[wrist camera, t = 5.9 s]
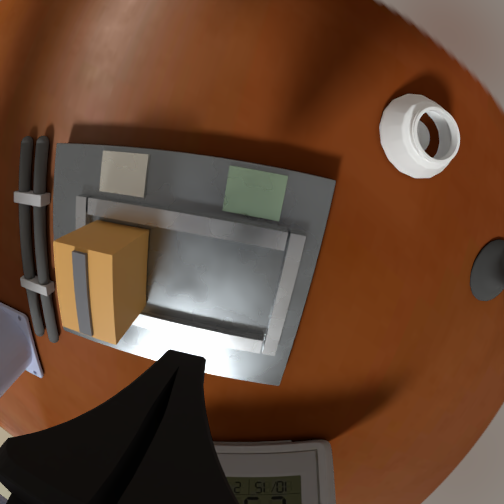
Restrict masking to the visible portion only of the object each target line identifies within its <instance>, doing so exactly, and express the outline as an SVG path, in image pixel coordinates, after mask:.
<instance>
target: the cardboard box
mask: <svg viewBox="0 0 504 504" xmlns="http://www.w3.org/2000/svg"><path fill="white" fill-rule="evenodd" d="M148 241H149V230H148V229H143V228H138V227H132V226H127V225H122V224H116V223H111V222H106V221H100V220H96V221H94V222H92V223H89V224H87V225H85V226H83V227H81V228H79V229H77V230H75V231H72V232H70V233H68V234H66V235H64V236H62V237H60V238H58V239H56V240H54V241H53V247H54V262H55V274H56V284H57V292H58V300H59V307H60V314H61V320H62V326H64V327H66V328H69V329H71V330H74V331H77V332H79V333H82V334H85V335H88V336H91V337H93V338H96V339H99V340H102V341H105V342H108V343H111V344H114V345H117V344H118V342H119V341H120V339H121V338H122V337H123V335H124V334H125V333H126V331H127V330H128V329H129V327H130V326H131V325H132V323H133V322H134V321H135V319H136V318H137V317H138V316H139V314H140V313H141V312H142V310H143V309H144V308H145V306H146V282H147V258H148Z"/></svg>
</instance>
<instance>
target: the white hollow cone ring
mask: <svg viewBox="0 0 504 504" xmlns="http://www.w3.org/2000/svg"><path fill="white" fill-rule="evenodd" d="M425 112H426V113H427V114H428V115H429V116H430V117H431V118H432V119H433V121H434V122H435V125H436V127H437V129H438V132H439V147H438V150H437V153H436V155H435V156H434V157H433V158H432V157H430V156H429V155H428V154H427V153H426V152H425V151H424V150H425V149H426V148H427V147H428V145H429V142H430V134H429V131H428V129H427V127H426V126H425V124H424V123H423V122H421V121H419V120H420V118H421V116H422V115H423V114H424V113H425ZM379 130H380V139H381V145H382V147H383V149H384V151H385V154H386V156H387V158H388V160H389V161H390V162H391V163H392V164H393V165H394V166H395V167H396V168H397V169H398V170H399V171H400V172H402V173H404V174H407V175H409V176H411V177H413V178H431V177H432V176H434V175H436V174H438V173H440V172H442V171H443V169H444V168H445V167H446V166H447V165H448V164H449V162H450V161H451V160H452V159H453V158H454V156H455V155H456V154H457V152H458V149H459V145H460V133H459V129H458V126H457V124H456V122H455V120H454V119H453V117H452V116H451V115H450V114H449V113H448V112H447V111H446V110H444V109H443V108H442V107H441V106H440V105H438V104H437V103H436V102H434V101H432V100H430V99H429V98H427V97H425V96H423V95H417V94H406V95H403V96H401V97H399V98H396V99H394V100H392V101H391V103H390V104H389V105H388V106H387V107H386V109H385V110H384V111H383V114H382V118H381V122H380V125H379Z"/></svg>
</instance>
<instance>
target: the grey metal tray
mask: <svg viewBox="0 0 504 504" xmlns="http://www.w3.org/2000/svg"><path fill="white" fill-rule="evenodd" d="M335 183H336V181H335V180H333V179H330V178H326V177H322V176H317V175H313V174H308V173H304V172H299V171H294V170H289V169H284V168H279V167H274V166H269V165H264V164H258V163H253V162H247V161H241V160H235V159H229V158H223V157H216V156H209V155H202V154H195V153H187V152H179V151H171V150H162V149H152V148H142V147H131V146H118V145H103V144H83V143H57V148H56V158H55V172H54V195H53V229H54V240H56V239H58V238H60V237H62V236H64V235H66V234H68V233H70V232H72V231H75V230H77V229H79V228H81V227H83V226H85V225H87V224H89V223H92V222H94V221H96V220H100V221H106V222H111V223H116V224H122V225H127V226H132V227H138V228H143V229H148V230H149V241H148V258H147V282H146V306H145V308H144V309H143V310H142V312H141V313H140V314H139V316H138V317H137V318H136V319H135V321H134V322H133V323H132V325H131V326H130V327H129V329H128V330H127V331H126V333H125V334H124V335H123V337H122V338H121V339H120V341H119V342H118V344H117V345H114V344H111V343H108V342H105V341H102V340H99V339H96V338H93V337H91V336H88V335H85V334H82V333H79V332H77V331H74V330H71V329H69V328H66V327H64V326H63V328H64V330H66V331H68V332H71V333H73V334H76V335H79V336H81V337H84V338H87V339H90V340H92V341H95V342H98V343H101V344H104V345H107V346H110V347H113V348H116V349H119V350H122V351H125V352H129V353H132V354H135V355H139V356H142V357H145V358H149V359H152V360H156V361H157V360H158V359H159V358H160V357H161V356H162V355H163V354H164V353H165V352H166V351H167V350H169V349H172V350H177V351H181V352H185V353H189V354H194V355H198V356H203V357H204V358H205V359H206V367H205V373H209V374H214V375H219V376H224V377H229V378H234V379H240V380H245V381H251V382H257V383H263V384H270V385H277V386H279V384H280V382H281V379H282V376H283V373H284V370H285V367H286V364H287V360H288V357H289V354H290V351H291V348H292V345H293V342H294V338H295V335H296V332H297V329H298V325H299V322H300V319H301V315H302V312H303V308H304V305H305V302H306V298H307V295H308V291H309V287H310V284H311V280H312V277H313V273H314V269H315V265H316V262H317V258H318V254H319V250H320V246H321V242H322V238H323V234H324V230H325V226H326V222H327V218H328V214H329V209H330V205H331V201H332V196H333V192H334V187H335Z"/></svg>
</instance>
